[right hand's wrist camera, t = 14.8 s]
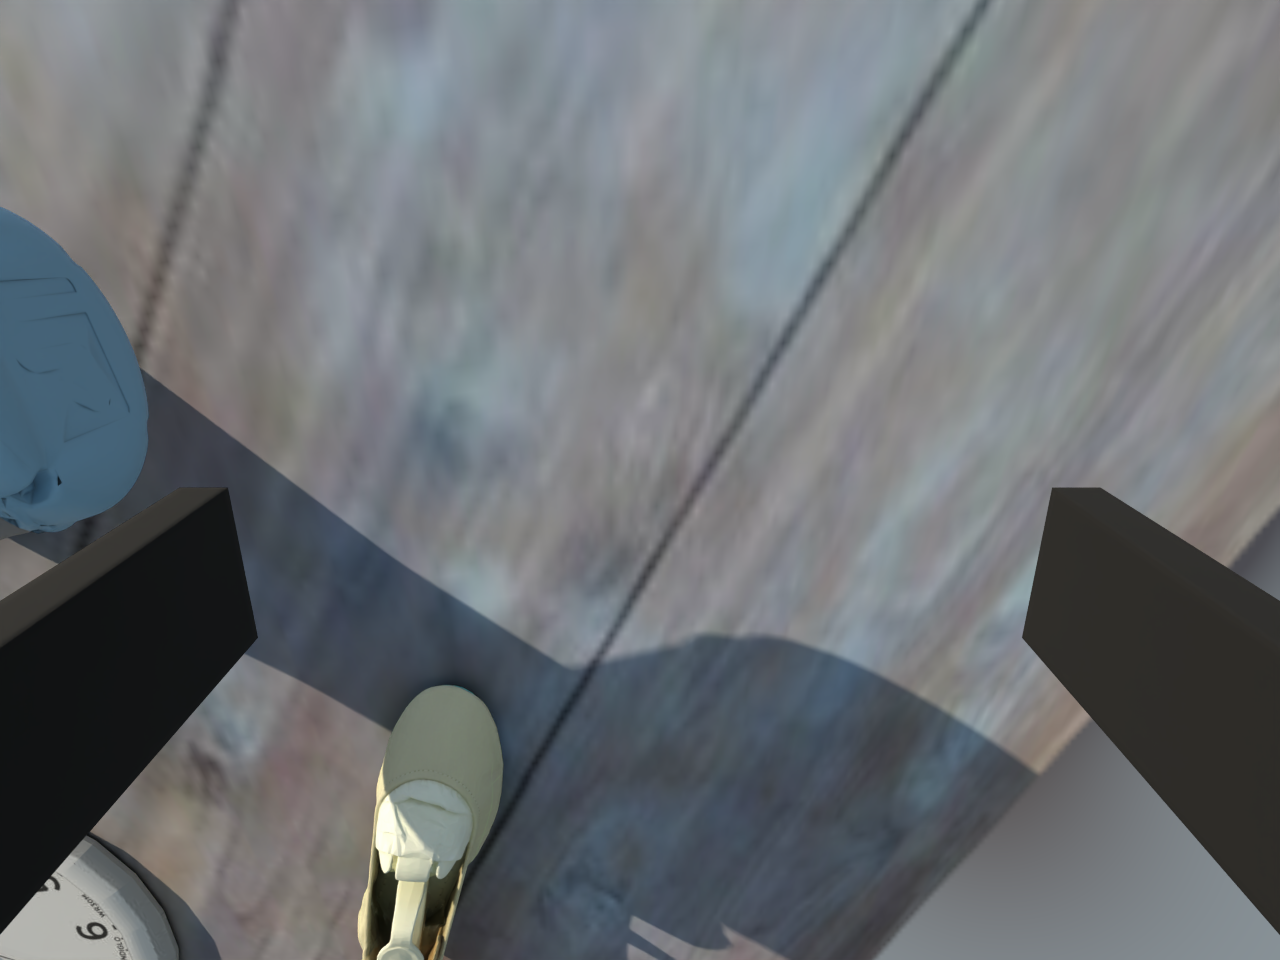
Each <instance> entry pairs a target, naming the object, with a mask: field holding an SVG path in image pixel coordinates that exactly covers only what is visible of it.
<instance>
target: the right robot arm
mask: <svg viewBox="0 0 1280 960" xmlns="http://www.w3.org/2000/svg"><path fill="white" fill-rule="evenodd" d="M257 638H258V636H257V631H256V626H255V621H254V616H253V611H252V606H251V601H250V596H249V591H248V586H247V581H246V576H245V571H244V566H243V561H242V556H241V551H240V546H239V541H238V536H237V531H236V526H235V521H234V516H233V511H232V506H231V501H230V496H229V491H228V488H178V489H177V490H175V491H174V492H172V493H170V494H169V495H167V496H166V497H164V498H162V499H161V500H159V501H158V502H156V503H155V504H153V505H151V506H150V507H148V508H147V509H145V510H143V511H142V512H140V513H139V514H137V515H136V516H134V517H132V518H131V519H129V520H128V521H126V522H124V523H123V524H121V525H120V526H118V527H117V528H115V529H113V530H112V531H110V532H109V533H107V534H105V535H104V536H102V537H101V538H99V539H98V540H96V541H94V542H93V543H91V544H90V545H88V546H86V547H85V548H83V549H82V550H80V551H79V552H77V553H75V554H74V555H72V556H71V557H69V558H67V559H66V560H64V561H63V562H61V563H60V564H58V565H56V566H55V567H53V568H52V569H50V570H48V571H47V572H45V573H44V574H42V575H41V576H39V577H37V578H36V579H34V580H33V581H31V582H29V583H28V584H26V585H25V586H23V587H22V588H20V589H18V590H17V591H15V592H14V593H12V594H10V595H9V596H7V597H6V598H4V599H3V600H1V601H0V934H1V933H2V932H3V931H4V930H5V929H6V928H7V926H8V925H9V924H10V923H11V922H12V921H13V919H14V918H15V917H16V916H17V915H18V914H19V913H20V911H21V910H22V909H23V908H24V907H25V906H26V904H27V903H28V902H29V901H30V900H31V899H32V898H33V896H34V895H35V894H36V893H37V892H38V891H39V889H40V888H41V887H42V886H43V885H44V884H45V883H46V881H47V880H48V879H49V878H50V877H51V876H52V875H53V873H54V872H55V871H56V870H57V869H58V868H59V866H60V865H61V864H62V863H63V862H64V861H65V860H66V858H67V857H68V856H69V855H70V854H71V853H72V851H73V850H74V849H75V848H76V847H77V846H78V845H79V843H80V842H81V841H82V840H83V839H84V838H85V836H86V835H87V834H88V833H89V832H90V831H91V830H92V828H93V827H94V826H95V825H96V824H97V823H98V821H99V820H100V819H101V818H102V817H103V816H104V815H105V813H106V812H107V811H108V810H109V809H110V808H111V806H112V805H113V804H114V803H115V802H116V801H117V800H118V798H119V797H120V796H121V795H122V794H123V793H124V791H125V790H126V789H127V788H128V787H129V786H130V785H131V783H132V782H133V781H134V780H135V779H136V778H137V776H138V775H139V774H140V773H141V772H142V771H143V770H144V768H145V767H146V766H147V765H148V764H149V763H150V761H151V760H152V759H153V758H154V757H155V756H156V755H157V753H158V752H159V751H160V750H161V749H162V748H163V746H164V745H165V744H166V743H167V742H168V741H169V740H170V738H171V737H172V736H173V735H174V734H175V733H176V731H177V730H178V729H179V728H180V727H181V726H182V725H183V723H184V722H185V721H186V720H187V719H188V718H189V716H190V715H191V714H192V713H193V712H194V711H195V710H196V708H197V707H198V706H199V705H200V704H201V703H202V701H203V700H204V699H205V698H206V697H207V696H208V695H209V693H210V692H211V691H212V690H213V689H214V688H215V687H216V685H217V684H218V683H219V682H220V681H221V680H222V678H223V677H224V676H225V675H226V674H227V673H228V672H229V670H230V669H231V668H232V667H233V666H234V665H235V663H236V662H237V661H238V660H239V659H240V658H241V657H242V655H243V654H244V653H245V652H246V651H247V650H248V648H249V647H250V646H251V645H252V644H253V643H254V642H255V640H256V639H257ZM1022 638H1023V639H1024V640H1025V642H1026V643H1027V644H1028V645H1029V646H1030V647H1031V648H1032V650H1033V651H1034V652H1035V653H1036V654H1037V655H1038V657H1039V658H1040V659H1041V660H1042V661H1043V662H1044V663H1045V665H1046V666H1047V667H1048V668H1049V669H1050V670H1051V672H1052V673H1053V674H1054V675H1055V676H1056V677H1057V678H1058V680H1059V681H1060V682H1061V683H1062V684H1063V685H1064V687H1065V688H1066V689H1067V690H1068V691H1069V692H1070V693H1071V695H1072V696H1073V697H1074V698H1075V699H1076V700H1077V701H1078V703H1079V704H1080V705H1081V706H1082V707H1083V708H1084V710H1085V711H1086V712H1087V713H1088V714H1089V715H1090V716H1091V718H1092V719H1093V720H1094V721H1095V722H1096V723H1097V725H1098V726H1099V727H1100V728H1101V729H1102V730H1103V731H1104V733H1105V734H1106V735H1107V736H1108V737H1109V738H1110V740H1111V741H1112V742H1113V743H1114V744H1115V745H1116V746H1117V748H1118V749H1119V750H1120V751H1121V752H1122V753H1123V755H1124V756H1125V757H1126V758H1127V759H1128V760H1129V761H1130V763H1131V764H1132V765H1133V766H1134V767H1135V768H1136V769H1137V771H1138V772H1139V773H1140V774H1141V775H1142V776H1143V778H1144V779H1145V780H1146V781H1147V782H1148V783H1149V785H1150V786H1151V787H1152V788H1153V789H1154V790H1155V791H1156V793H1157V794H1158V795H1159V796H1160V797H1161V798H1162V800H1163V801H1164V802H1165V803H1166V804H1167V805H1168V806H1169V808H1170V809H1171V810H1172V811H1173V812H1174V813H1175V814H1176V816H1177V817H1178V818H1179V819H1180V820H1181V821H1182V823H1183V824H1184V825H1185V826H1186V827H1187V828H1188V829H1189V831H1190V832H1191V833H1192V834H1193V835H1194V836H1195V838H1196V839H1197V840H1198V841H1199V842H1200V843H1201V845H1202V846H1203V847H1204V848H1205V849H1206V850H1207V851H1208V853H1209V854H1210V855H1211V856H1212V857H1213V858H1214V860H1215V861H1216V862H1217V863H1218V864H1219V865H1220V866H1221V868H1222V869H1223V870H1224V871H1225V872H1226V873H1227V875H1228V876H1229V877H1230V878H1231V879H1232V880H1233V881H1234V883H1235V884H1236V885H1237V886H1238V887H1239V888H1240V889H1241V891H1242V892H1243V893H1244V894H1245V895H1246V896H1247V898H1248V899H1249V900H1250V901H1251V902H1252V903H1253V904H1254V906H1255V907H1256V908H1257V909H1258V910H1259V911H1260V913H1261V914H1262V915H1263V916H1264V917H1265V918H1266V919H1267V921H1268V922H1269V923H1270V924H1271V925H1272V926H1273V927H1274V929H1275V930H1276V931H1277V932H1278V933H1279V934H1280V601H1279V600H1277V599H1276V598H1274V597H1273V596H1271V595H1270V594H1268V593H1266V592H1265V591H1263V590H1262V589H1260V588H1258V587H1257V586H1255V585H1254V584H1252V583H1250V582H1249V581H1247V580H1246V579H1244V578H1243V577H1241V576H1239V575H1238V574H1236V573H1235V572H1233V571H1232V570H1230V569H1228V568H1227V567H1225V566H1224V565H1222V564H1220V563H1219V562H1217V561H1216V560H1214V559H1213V558H1211V557H1209V556H1208V555H1206V554H1205V553H1203V552H1201V551H1200V550H1198V549H1197V548H1195V547H1194V546H1192V545H1190V544H1189V543H1187V542H1186V541H1184V540H1182V539H1181V538H1179V537H1178V536H1176V535H1175V534H1173V533H1171V532H1170V531H1168V530H1167V529H1165V528H1163V527H1162V526H1160V525H1159V524H1157V523H1156V522H1154V521H1152V520H1151V519H1149V518H1148V517H1146V516H1144V515H1143V514H1141V513H1140V512H1138V511H1137V510H1135V509H1133V508H1132V507H1130V506H1129V505H1127V504H1125V503H1124V502H1122V501H1121V500H1119V499H1118V498H1116V497H1114V496H1113V495H1111V494H1110V493H1108V492H1106V491H1105V490H1103V489H1102V488H1052V491H1051V496H1050V501H1049V506H1048V511H1047V516H1046V521H1045V526H1044V531H1043V536H1042V541H1041V546H1040V551H1039V556H1038V561H1037V566H1036V571H1035V576H1034V581H1033V586H1032V591H1031V596H1030V601H1029V606H1028V611H1027V616H1026V621H1025V626H1024V631H1023V636H1022Z"/></svg>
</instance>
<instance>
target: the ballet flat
mask: <svg viewBox="0 0 1280 960" xmlns="http://www.w3.org/2000/svg"><path fill="white" fill-rule="evenodd" d="M502 779H503V759H502V751H501V745H500V740H499V735H498V731H497V727H496V725H495V722H494V720H493V718H492V716H491V714H490V711H489V709H488V708H487V706H486V705H485V704H484V702H483V701H481V700H480V699H479V698H478V697H476V696H475V695H474V694H473V693H472V692H470V691H469V690H467V689H465V688H463V687H459V686H455V685H441V686H434V687H431V688H428V689H426V690H424V691H422V692H421V693H420V694H419V695H417V696H416V697H415V698H414V699H413V700H412V701H411V702H410V703H409V705H408V706H407V707H406V709H405V710H404V712H403V713H402V715H401V716H400V718H399V720H398V722H397V723H396V725H395V727H394V729H393V732H392V734H391V736H390V738H389V742H388V746H387V749H386V753H385V757H384V761H383V765H382V768H381V771H380V775H379V779H378V783H377V804H376V808H375V817H374V830H373V842H372V849H371V859H370V870H369V881H368V888H367V889H366V892H365V894H364V897H363V902H362V907H361V910H360V912H359V917H358V938H359V942H360V945H361V947H362V949H363V957H362V960H442V959H443V956H444V952H445V949H446V945H447V941H448V937H449V933H450V930H451V926H452V922H453V919H454V915H455V911H456V907H457V903H458V900H459V896H460V892H461V888H462V885H463V881H464V877H465V874H466V870H467V866H468V865H469V863H471V862H472V861H473V860H474V858H475V857H476V856H477V854H478V853H479V851H480V849H481V847H482V845H483V843H484V841H485V840H486V838H487V836H488V834H489V832H490V829H491V826H492V824H493V822H494V820H495V817H496V814H497V811H498V807H499V802H500V797H501V791H502Z"/></svg>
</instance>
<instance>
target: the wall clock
mask: <svg viewBox="0 0 1280 960" xmlns="http://www.w3.org/2000/svg"><path fill="white" fill-rule="evenodd" d="M0 960H179V948H178V945H177V943H176V940H175V938H174V935H173V933H172V930H171V928H170V925H169V922H168V920H167V917H166V915H165V912H164V910H163V909H162V908H161V906H160V905H159V904H158V902H157V901H156V900H155V898H154V897H153V896H152V894H151V893H150V892H149V891H148V889H147V888H146V887H145V885H144V884H143V883H142V881H141V880H140V879H139V877H138V876H137V875H136V874H135V873H134V872H133V871H132V870H130V869H129V868H128V867H127V866H126V865H124V864H123V863H122V862H121V861H120V860H118V859H117V858H116V857H115V856H114V855H112V854H111V853H110V852H109V851H108V850H106V849H105V848H104V847H103V846H102V845H101V844H99V843H98V842H97V841H96V840H94V839H92V838H90V837H88V836H87V835H86V836H85V838H84V839H83V840H82V841H81V842H80V843H79V845H78V846H77V847H76V848H75V849H74V850H73V851H72V853H71V854H70V855H69V856H68V857H67V858H66V860H65V861H64V862H63V863H62V864H61V865H60V866H59V868H58V869H57V870H56V871H55V872H54V873H53V875H52V876H51V877H50V878H49V879H48V880H47V881H46V883H45V884H44V885H43V886H42V887H41V888H40V889H39V891H38V892H37V893H36V894H35V895H34V896H33V898H32V899H31V900H30V901H29V902H28V903H27V904H26V906H25V907H24V908H23V909H22V910H21V911H20V913H19V914H18V915H17V916H16V917H15V918H14V919H13V921H12V922H11V923H10V924H9V925H8V926H7V928H6V929H5V930H4V931H3V932H2V933H1V934H0Z"/></svg>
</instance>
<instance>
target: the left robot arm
mask: <svg viewBox="0 0 1280 960" xmlns="http://www.w3.org/2000/svg"><path fill="white" fill-rule="evenodd" d="M148 418H149V411H148V402H147V396H146V391H145V386H144V382H143V378H142V374H141V371H140V368H139V365H138V362H137V359H136V356H135V354H134V351H133V349H132V346H131V344H130V341H129V339H128V337H127V335H126V333H125V331H124V329H123V327H122V325H121V323H120V321H119V319H118V318H117V316H116V314H115V312H114V311H113V309H112V307H111V306H110V304H109V303H108V301H107V300H106V298H105V296H104V295H103V294H102V292H101V291H100V290H99V288H98V287H97V285H96V284H95V283H94V281H93V280H92V279H91V278H90V276H89V275H88V274H87V273H86V272H85V271H84V269H83V268H82V267H80V266H79V265H77V264H76V263H75V262H74V261H73V260H72V259H71V258H70V257H69V255H68V254H67V253H66V252H65V251H64V249H63V248H62V247H61V246H60V245H59V244H58V243H57V242H56V241H54V240H53V239H52V238H51V237H50V236H48V235H47V234H46V233H44V232H43V231H42V230H40V229H39V228H38V227H36V226H35V225H33V224H32V223H30V222H29V221H27V220H26V219H24V218H22V217H20V216H18V215H16V214H15V213H13V212H11V211H9V210H7V209H4V208H2V207H0V540H1V539H4V538H8V537H12V536H16V535H20V534H24V533H29V532H35V533H43V532H59V531H62V530H65V529H67V528H69V527H70V526H72V525H73V524H74V523H75V522H76V521H79V520H82V519H85V518H88V517H91V516H94V515H97V514H100V513H102V512H104V511H106V510H108V509H109V508H111V507H113V506H114V505H115V504H117V503H118V502H119V501H120V500H121V499H122V498H124V496H125V495H126V494H127V493H128V492H129V491H130V490H131V488H132V487H133V485H134V484H135V482H136V480H137V478H138V476H139V474H140V472H141V470H142V467H143V464H144V461H145V458H146V453H147V449H148V439H149V438H148V433H147V420H148Z"/></svg>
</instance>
